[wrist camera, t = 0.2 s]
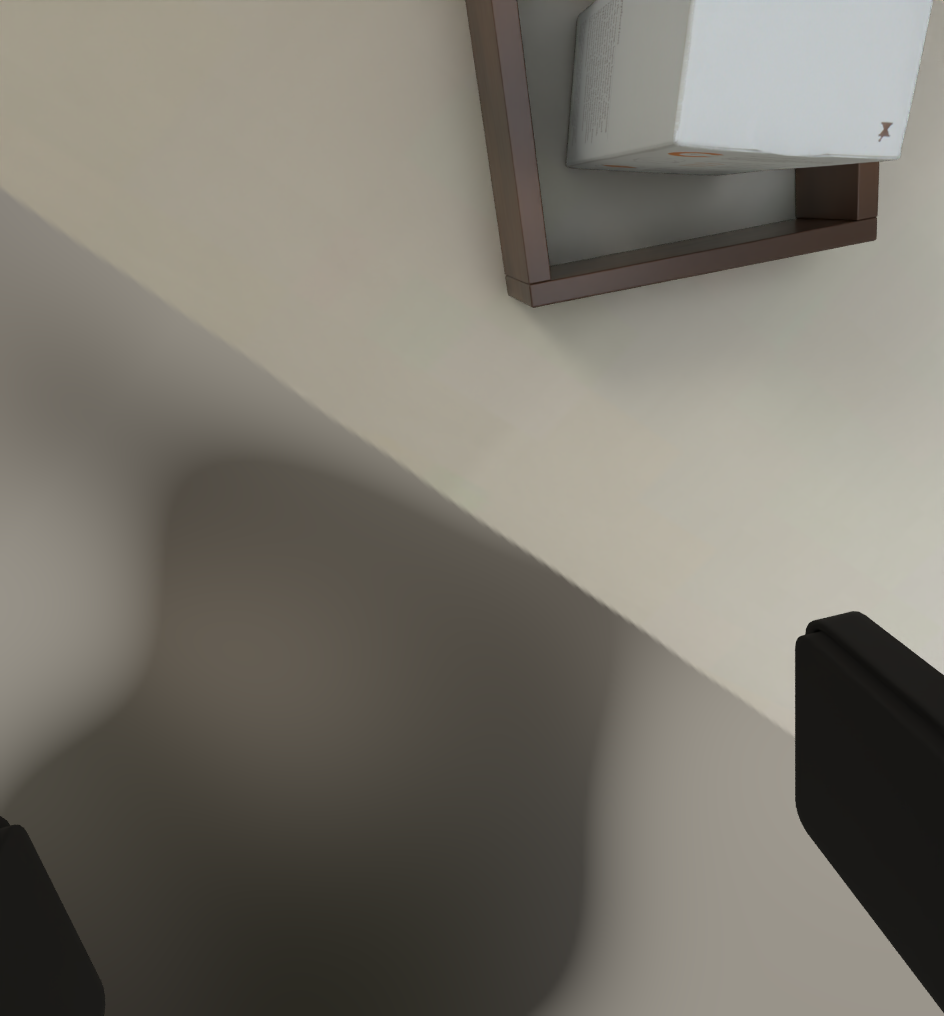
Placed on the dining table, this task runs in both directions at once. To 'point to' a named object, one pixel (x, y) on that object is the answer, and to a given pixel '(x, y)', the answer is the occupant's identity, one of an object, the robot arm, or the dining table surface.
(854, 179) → the wooden frame
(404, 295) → the dining table surface
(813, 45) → the small box
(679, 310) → the dining table surface
